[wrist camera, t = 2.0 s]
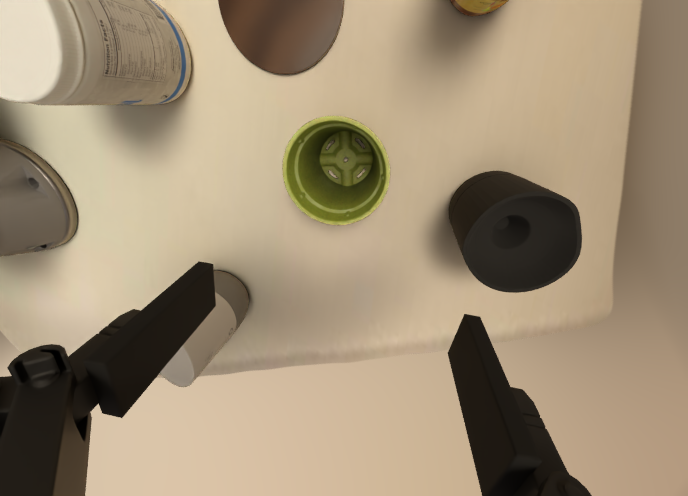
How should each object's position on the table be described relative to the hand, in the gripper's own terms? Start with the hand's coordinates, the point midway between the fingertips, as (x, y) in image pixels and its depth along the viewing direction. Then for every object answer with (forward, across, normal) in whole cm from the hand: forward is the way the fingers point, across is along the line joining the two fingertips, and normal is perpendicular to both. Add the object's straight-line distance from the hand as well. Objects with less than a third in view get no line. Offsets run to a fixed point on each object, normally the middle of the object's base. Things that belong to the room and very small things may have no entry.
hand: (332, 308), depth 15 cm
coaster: (+22, -11, +17) cm, 30 cm away
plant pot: (+22, -2, +4) cm, 22 cm away
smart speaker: (+22, -18, -18) cm, 34 cm away
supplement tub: (+22, -24, +11) cm, 35 cm away
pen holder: (+22, +14, +1) cm, 26 cm away
